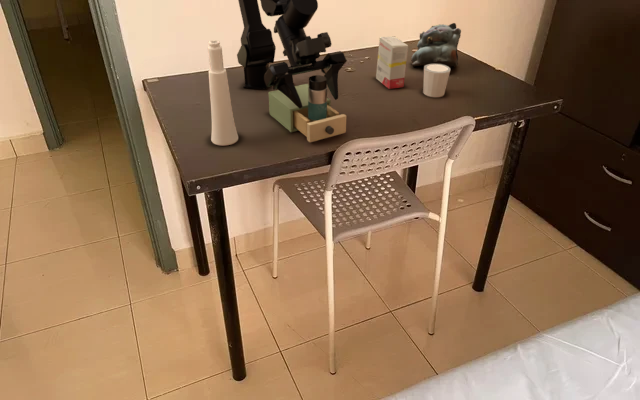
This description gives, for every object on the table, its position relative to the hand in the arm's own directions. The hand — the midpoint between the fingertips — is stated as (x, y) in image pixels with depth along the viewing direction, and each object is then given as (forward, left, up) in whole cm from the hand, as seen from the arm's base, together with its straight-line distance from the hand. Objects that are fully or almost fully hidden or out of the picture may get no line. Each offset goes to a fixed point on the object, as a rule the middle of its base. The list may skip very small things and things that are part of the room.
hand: (319, 103), depth 112 cm
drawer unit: (-6, +7, -7) cm, 12 cm away
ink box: (+15, +33, -8) cm, 37 cm away
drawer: (0, 0, -7) cm, 7 cm away
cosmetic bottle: (-20, -7, -8) cm, 23 cm away
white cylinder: (+27, +28, -8) cm, 40 cm away
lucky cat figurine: (+27, +50, -8) cm, 57 cm away
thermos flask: (-1, +1, -6) cm, 6 cm away
